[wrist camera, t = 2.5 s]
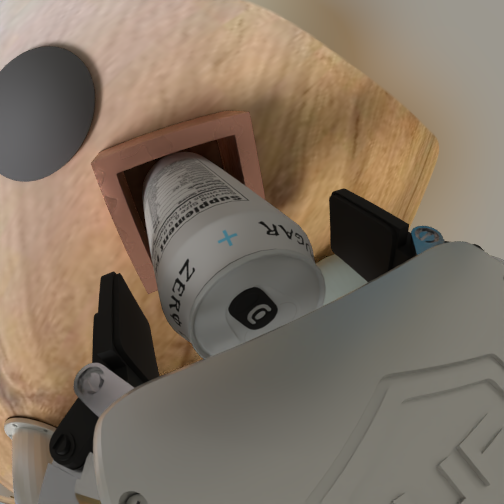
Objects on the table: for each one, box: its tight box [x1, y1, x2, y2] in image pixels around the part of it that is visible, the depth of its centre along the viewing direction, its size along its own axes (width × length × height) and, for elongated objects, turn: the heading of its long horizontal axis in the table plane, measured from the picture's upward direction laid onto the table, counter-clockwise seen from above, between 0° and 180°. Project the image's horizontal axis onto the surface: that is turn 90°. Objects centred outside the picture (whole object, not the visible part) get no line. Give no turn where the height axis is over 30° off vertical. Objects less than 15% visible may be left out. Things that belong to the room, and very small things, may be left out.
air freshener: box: [316, 254, 368, 306], centre depth 29 cm, size 11×8×10 cm
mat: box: [0, 46, 95, 181], centre depth 13 cm, size 10×10×1 cm
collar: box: [91, 111, 265, 294], centre depth 19 cm, size 10×10×4 cm
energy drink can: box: [142, 152, 326, 359], centre depth 15 cm, size 6×6×15 cm
